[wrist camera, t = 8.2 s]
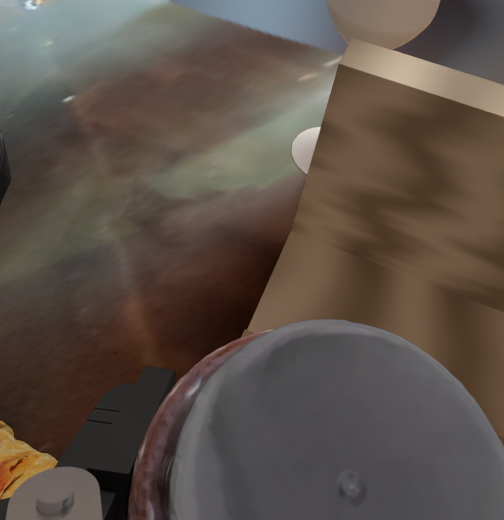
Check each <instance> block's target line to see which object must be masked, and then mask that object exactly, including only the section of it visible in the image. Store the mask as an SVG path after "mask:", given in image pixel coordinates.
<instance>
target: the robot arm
mask: <svg viewBox="0 0 504 520" xmlns="http://www.w3.org/2000/svg"><path fill="white" fill-rule="evenodd" d="M175 382H176V370H172V369H165V368H158V367H151V366H146V367H145V369H144V370H143V372H142V374H141V376H140V377H139V379H138V381H137V383H136V384H135V385H133V384H126V383H120V384H119V385H117V386H115V387H114V388H112V389H111V390H109V391H108V392H106V393H105V394H104V395H103V397H102V398H101V400H100V401H99V403H98V404H97V405H96V407H95V410H93V411H92V413H91V414H90V416H89V417H88V419H87V422H85V423H84V425H83V426H82V427H81V429H80V430H79V432H78V433H77V435H76V436H75V438H74V439H73V441H72V442H71V444H70V445H69V446H68V448H67V449H66V451H65V452H64V454H63V455H62V457H61V458H60V460H59V461H58V463H57V464H56V465H55V467H54V468H52V469H48V470H45V471H42V472H40V473H38V474H36V475H34V476H32V477H30V478H29V479H27V480H26V481H25V482H23V483H22V484H21V485H20V486H19V487H18V488H17V489H16V490H15V492H14V493H13V495H12V496H11V497H9V498H5V499H1V500H0V520H127V516H128V513H127V508H128V499H129V492H130V486H131V481H132V475H133V469H134V464H135V461H136V457H137V454H138V452H139V449H140V446H141V444H142V441H143V439H144V436H145V434H146V432H147V429H148V427H149V425H150V423H151V421H152V419H153V417H154V415H155V414H156V412H157V410H158V408H159V407H160V405H161V404H162V402H163V401H164V399H165V397H166V396H167V395H168V394H169V393H170V392H171V390H172V389H173V387H174V386H175Z"/></svg>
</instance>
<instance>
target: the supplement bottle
mask: <svg viewBox="0 0 504 520" xmlns="http://www.w3.org/2000/svg"><path fill="white" fill-rule="evenodd" d="M127 513H128V516H127V520H504V447H503V444H502V442H501V441H500V439H499V438H498V436H497V434H496V433H495V431H494V429H493V427H492V425H491V423H490V422H489V420H488V418H487V417H486V415H485V414H484V412H483V411H482V409H481V408H480V406H479V405H478V403H477V402H476V401H475V399H474V398H473V397H472V396H471V394H470V393H469V392H468V391H467V390H466V389H465V387H464V386H463V384H462V383H461V382H460V381H459V380H457V379H456V378H455V377H454V376H453V375H452V374H451V373H450V372H449V371H448V370H447V369H446V368H445V367H444V366H443V365H442V364H440V363H439V362H438V361H436V360H435V359H434V358H433V357H431V356H430V355H429V354H427V353H425V352H424V351H422V350H421V349H420V348H419V347H417V346H415V345H414V344H412V343H411V342H409V341H407V340H406V339H404V338H402V337H399V336H397V335H395V334H393V333H390V332H388V331H386V330H383V329H379V328H375V327H372V326H368V325H365V324H361V323H354V322H349V321H346V320H332V319H324V320H308V321H302V322H295V323H289V324H286V325H284V326H281V327H278V328H276V329H273V330H265V331H260V332H257V333H254V334H251V335H249V336H246V337H243V338H240V339H237V340H235V341H232V342H230V343H228V344H226V345H224V346H223V347H220V348H218V349H217V350H215V351H214V352H212V353H211V354H209V355H207V356H206V357H205V358H204V359H202V360H201V361H200V362H198V363H197V364H196V365H195V366H193V367H192V368H191V369H190V371H189V372H188V373H187V374H185V375H184V376H183V377H182V378H181V379H180V380H179V381H178V382H177V383H176V384H175V386H174V387H173V389H172V390H171V392H170V393H169V394H168V395H167V396H166V397H165V399H164V401H163V402H162V404H161V405H160V407H159V408H158V410H157V412H156V414H155V415H154V417H153V419H152V421H151V423H150V425H149V427H148V429H147V432H146V434H145V436H144V439H143V441H142V444H141V446H140V449H139V452H138V454H137V457H136V461H135V464H134V469H133V475H132V481H131V486H130V492H129V499H128V508H127Z"/></svg>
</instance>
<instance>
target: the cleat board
mask: <svg viewBox="0 0 504 520" xmlns="http://www.w3.org/2000/svg"><path fill="white" fill-rule="evenodd" d="M324 319H332V320H346V321H349V322H354V323H361V324H365V325H368V326H372V327H375V328H379V329H383V330H386V331H388V332H390V333H393V334H395V335H397V336H399V337H402V338H404V339H406V340H407V341H409V342H411V343H412V344H414V345H415V346H417V347H419V348H420V349H421V350H422V351H424V352H425V353H427V354H429V355H430V356H431V357H433V358H434V359H435V360H436V361H438V362H439V363H440V364H442V365H443V366H444V367H445V368H446V369H447V370H448V371H449V372H450V373H451V374H452V375H453V376H454V377H455V378H456V379H457V380H459V381H460V382H461V383H462V384H463V386H464V387H465V389H466V390H467V391H468V392H469V393H470V394H471V396H472V397H473V398H474V399H475V401H476V402H477V403H478V405H479V406H480V408H481V409H482V411H483V412H484V414H485V415H486V417H487V418H488V420H489V422H490V423H491V425H492V427H493V429H494V431H495V433H496V434H497V436H498V438H499V439H500V441H501V442H502V444H503V447H504V85H502V84H498V83H495V82H492V81H489V80H485V79H483V78H479V77H476V76H473V75H470V74H466V73H463V72H460V71H457V70H453V69H451V68H447V67H444V66H441V65H438V64H435V63H431V62H428V61H425V60H422V59H419V58H415V57H412V56H409V55H406V54H403V53H399V52H396V51H393V50H390V49H387V48H383V47H380V46H377V45H374V44H371V43H368V42H364V41H361V40H358V39H355V38H352V39H351V41H350V43H349V45H348V47H347V49H346V51H345V53H344V55H343V57H342V59H341V61H340V63H339V66H338V69H337V73H336V76H335V80H334V83H333V87H332V90H331V94H330V97H329V101H328V104H327V107H326V111H325V114H324V118H323V121H322V125H321V128H320V132H319V135H318V139H317V142H316V146H315V149H314V153H313V156H312V160H311V163H310V167H309V170H308V173H307V177H306V180H305V184H304V187H303V191H302V194H301V198H300V201H299V205H298V208H297V212H296V215H295V219H294V222H293V226H292V229H291V232H290V234H289V236H288V239H287V241H286V243H285V245H284V248H283V250H282V252H281V255H280V257H279V259H278V261H277V264H276V266H275V268H274V270H273V273H272V275H271V277H270V279H269V282H268V284H267V286H266V288H265V291H264V293H263V295H262V297H261V300H260V302H259V304H258V306H257V309H256V311H255V313H254V315H253V318H252V320H251V322H250V324H249V327H248V329H247V330H246V329H245V330H244V332H243V335H242V337H241V338H243V337H246V336H249V335H251V334H254V333H257V332H260V331H265V330H273V329H276V328H278V327H281V326H284V325H286V324H289V323H295V322H302V321H308V320H324Z"/></svg>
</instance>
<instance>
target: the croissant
mask: <svg viewBox="0 0 504 520" xmlns="http://www.w3.org/2000/svg"><path fill="white" fill-rule="evenodd" d="M57 463H58V461H56V459H55V458H54V457H52V456H51V455H49V454H47V453H40V452H38V451H36V450H35V449H33V448H31V447H30V446H29V445H28V444H26V443H25V442H23V441H19V440H15V439H14V433H13V430H12V429H11V428H10V427H9V426H7V425H6V424H5V423H4V422H2V421H0V500H1V499H5V498H9V497H11V496H12V495H13V493H14V492H15V490H16V489H17V488H18V487H19V486H20V485H21V484H22V483H23V482H25V481H26V480H27V479H29V478H30V477H32V476H34V475H36V474H38V473H40V472H42V471H45V470H48V469H52V468H54V467H55V465H56V464H57Z"/></svg>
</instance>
